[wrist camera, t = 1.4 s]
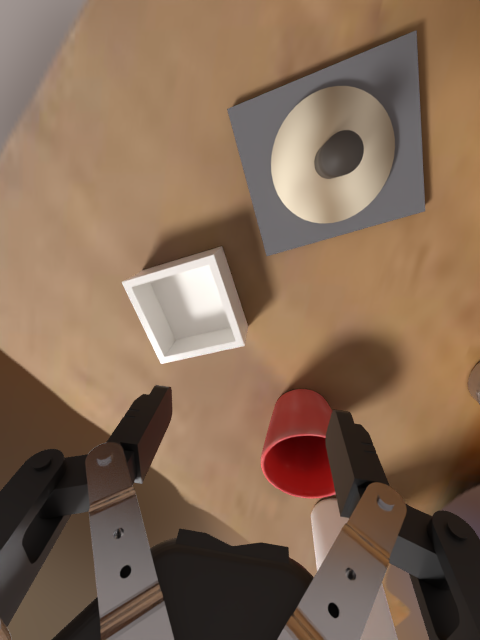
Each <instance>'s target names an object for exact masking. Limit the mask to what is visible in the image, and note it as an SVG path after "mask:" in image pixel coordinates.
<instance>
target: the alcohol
mask: <svg viewBox="0 0 480 640" xmlns="http://www.w3.org/2000/svg"><path fill="white" fill-rule="evenodd" d="M348 520H349V518H346V517H340V513H339V508H338V503H337V498H328V499H324V500H322V501H320V502H318V503H317V504H316V505H315V507H314V509H313V511H312V513H311V522H312V530H313V539H314V548H315V556H316V565H317V571H318V570H319V568H320V566H321V564H322V563H323V561H324V559H325V557H326V556H327V554H328V552H329V550H330V549H331V547H332V545H333V543H334V542H335V540H336V538H337V536H338V535H339V533H340V531H341V529H342V528H343V526H344V524H345V523H347V522H348ZM360 640H398V638H397V635H396V632H395V628H394V624H393V621H392V617H391V613H390V610H389V606H388V603H387V599H386V595H385V592H384V588H383V585H382V583H381V586H380V588H379V591H378V594H377V596H376V599H375V602H374V604H373V607H372V610H371V612H370V615H369V617H368V620H367V623H366V625H365V628H364V631H363V633H362V636H361V639H360Z"/></svg>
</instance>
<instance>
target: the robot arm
mask: <svg viewBox="0 0 480 640" xmlns="http://www.w3.org/2000/svg"><path fill="white" fill-rule="evenodd" d="M468 389H469V392H470V394H471V395H472V397H473V398H474V399H475V400H476V401H477V402H478V403H479V404H480V362H479V363H478V364H477V365H476V366H475V367H474V369H473V370H472V372H471V374H470V376H469V379H468ZM171 417H172V390H171V387H166V386H159V385H156V386H154V388H153V390H152V391H151V393H150V394H149V395H147V394H143V395H141V396H140V397H139V398H137V399H136V400H135V401H134V402H133V404H132V405H131V407H130V408H129V410H128V411H127V413H126V414H125V416H124V417H123V418H122V420H121V421H120V423H119V424H118V426H117V427H116V429H115V430H114V432H113V433H112V435H111V436H110V438H109V439H108V441H107V442H106V443H103V444H101V445H98V446H96V447H95V448H94V449H92V450H91V451H90V452H89V454H87V455H82V456H75V457H68V458H64V455H63V453H62V452H61V451H59V450H56V449H48V450H44V451H41V452H39V453H37V454H35V455H33V456H32V457H30V458H29V459H28V460H27V461H26V462H25V463H24V464H23V465H22V466H21V468H20V469H19V470H18V471H17V472H16V473H15V475H14V476H13V477H12V478H11V479H10V481H9V482H8V483H7V484H6V485H5V486H4V487H3V489H2V490H1V491H0V640H11V634H10V632H9V630H8V628H7V626H8V625H9V623H10V621H11V619H12V618H13V616H14V614H15V612H16V611H17V609H18V607H19V605H20V603H21V602H22V600H23V598H24V596H25V595H26V593H27V591H28V590H29V588H30V586H31V584H32V582H33V581H34V579H35V577H36V575H37V574H38V572H39V570H40V569H41V566H42V565H43V563H44V562H45V560H46V558H47V556H48V554H49V553H50V551H51V549H52V548H53V546H54V544H55V542H56V540H57V539H58V537H59V535H60V534H61V532H62V530H63V528H64V526H65V525H66V523H67V521H68V520H69V518H70V516H71V514H76V513H82V512H87V511H89V517H90V527H91V537H92V545H93V546H92V547H93V556H94V565H95V575H96V585H97V595H98V597H97V598H96V599H94V601H92V602H91V603H90V604H89V605H88V606H87V607H86V608H85V609H84V610H83V611H82V612H81V613H80V614H78V615H77V616H76V617H75V618H74V619H73V620H72V621H71V622H70V623H69V624H68V625H67V626H66V627H64V629H62V630H61V631H60V632H59V633H58V634H57V635H56V636H55V637H54V638H53V639H52V640H360V639H361V636H362V633H363V631H364V628H365V625H366V623H367V620H368V617H369V615H370V612H371V610H372V607H373V604H374V602H375V599H376V596H377V594H378V591H379V588H380V586H381V583H382V581H383V578H384V575H385V573H386V570H387V567H388V565H389V563H391V564H392V565H394V566H396V567H398V568H400V569H402V570H404V571H406V572H408V573H409V575H410V578H411V581H412V584H413V588H414V591H415V594H416V597H417V601H418V604H419V607H420V610H421V614H422V617H423V620H424V623H425V626H426V630H427V633H428V636H429V640H480V539H479V538H478V536H477V535H476V533H475V531H474V530H473V529H472V528H471V526H469V524H468V523H466V522H465V521H464V520H463V519H461V518H460V517H459V516H457V515H455V514H453V513H451V512H448V511H437V512H435V513H434V515H433V516H430V515H428V514H426V513H423V512H421V511H419V510H417V509H414V508H412V507H410V506H409V505H407V504H405V502H404V500H403V498H402V497H401V496H400V495H399V493H398V492H397V491H395V490H394V489H393V488H391V487H390V486H389V483H388V481H387V478H386V476H385V473H384V471H383V468H382V466H381V463H380V461H379V458H378V455H377V454H376V450H375V448H374V446H373V443H372V440H371V438H370V435H369V433H368V432H367V431H366V430H365V429H364V428H363V426H362V425H360V424H354V421H353V418H352V415H351V413H350V412H348V411H340V410H333V411H332V414H331V417H330V421H329V424H328V428H327V432H326V439H325V442H326V449H327V454H328V459H329V464H330V469H331V474H332V478H333V483H334V488H335V493H336V498H337V503H338V508H339V513H340V517H346V518H349V520H348V522H347V523H345V524H344V526H343V528H342V529H341V531H340V533H339V535H338V536H337V538H336V540H335V542H334V543H333V545H332V547H331V549H330V550H329V552H328V554H327V556H326V557H325V559H324V561H323V563H322V564H321V566H320V568H319V570H318V571H317V573H316V575H315V577H313V576H312V575H311V574H310V573H309V572H308V571H307V570H306V569H305V568H304V567H303V566H302V565H300V564H299V563H298V562H296V561H295V560H293V559H291V558H289V550H288V547H284V546H278V545H272V544H267V543H254V544H247V545H240V546H230V545H228V544H226V543H224V542H222V541H220V540H218V539H216V538H214V537H212V536H210V535H209V534H207V533H202V532H196V531H191V530H185V529H179V532H178V536H177V538H174V539H169V540H166V541H164V542H161V543H159V544H157V545H155V546H153V547H152V548H150V547H149V543H148V539H147V536H146V532H145V528H144V524H143V520H142V516H141V512H140V508H139V504H138V501H137V497H136V493H135V490H134V489H133V486H132V485H133V483H134V482H136V483H143V480H144V478H145V476H146V474H147V472H148V469H149V467H150V465H151V463H152V461H153V459H154V456H155V454H156V452H157V450H158V448H159V445H160V443H161V441H162V439H163V437H164V434H165V432H166V430H167V428H168V426H169V423H170V421H171Z"/></svg>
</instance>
